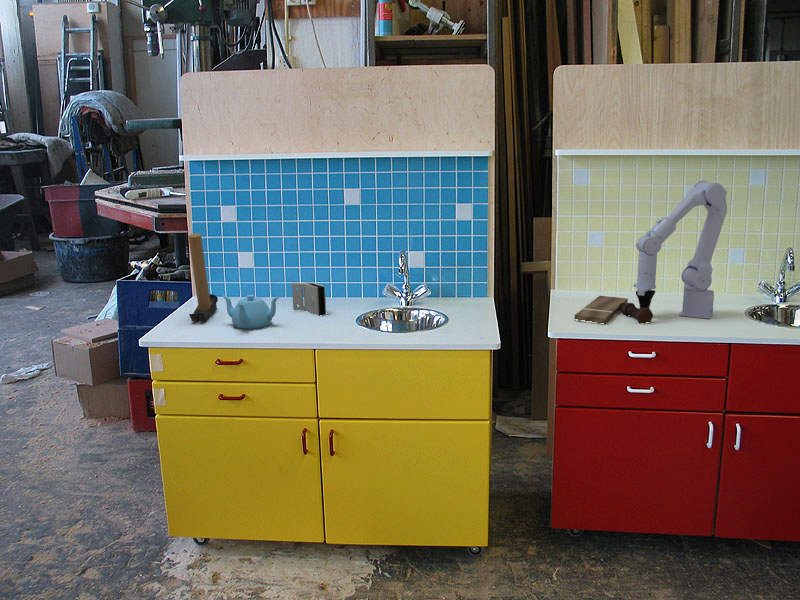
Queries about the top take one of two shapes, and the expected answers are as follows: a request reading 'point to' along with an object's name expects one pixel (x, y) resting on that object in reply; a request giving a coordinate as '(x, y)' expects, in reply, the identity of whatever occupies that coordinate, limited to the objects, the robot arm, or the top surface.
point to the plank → (601, 309)
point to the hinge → (309, 297)
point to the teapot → (251, 312)
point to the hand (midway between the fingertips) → (644, 312)
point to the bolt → (636, 312)
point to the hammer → (201, 281)
